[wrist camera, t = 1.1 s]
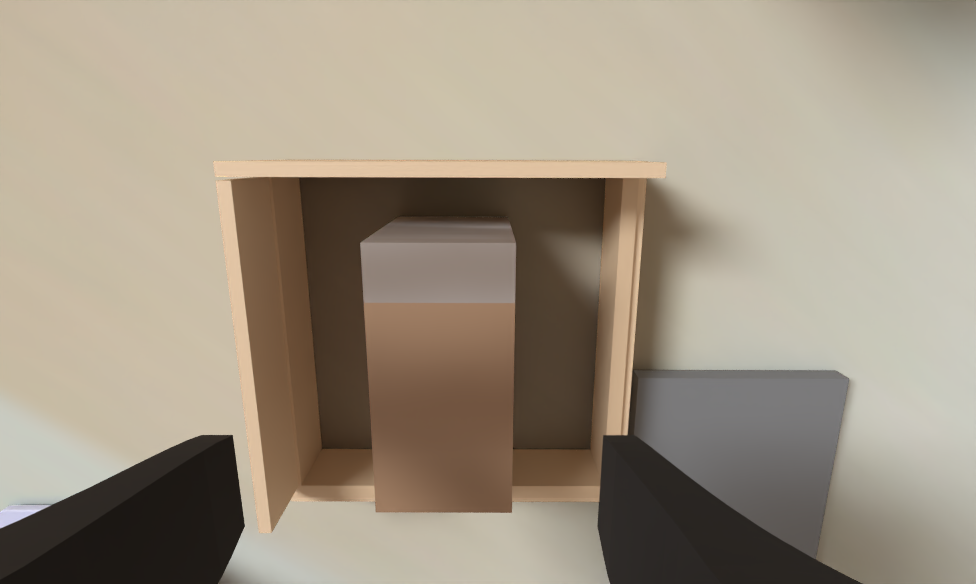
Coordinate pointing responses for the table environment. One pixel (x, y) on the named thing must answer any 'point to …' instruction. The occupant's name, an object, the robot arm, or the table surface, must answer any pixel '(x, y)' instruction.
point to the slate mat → (748, 439)
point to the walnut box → (441, 362)
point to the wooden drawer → (289, 341)
